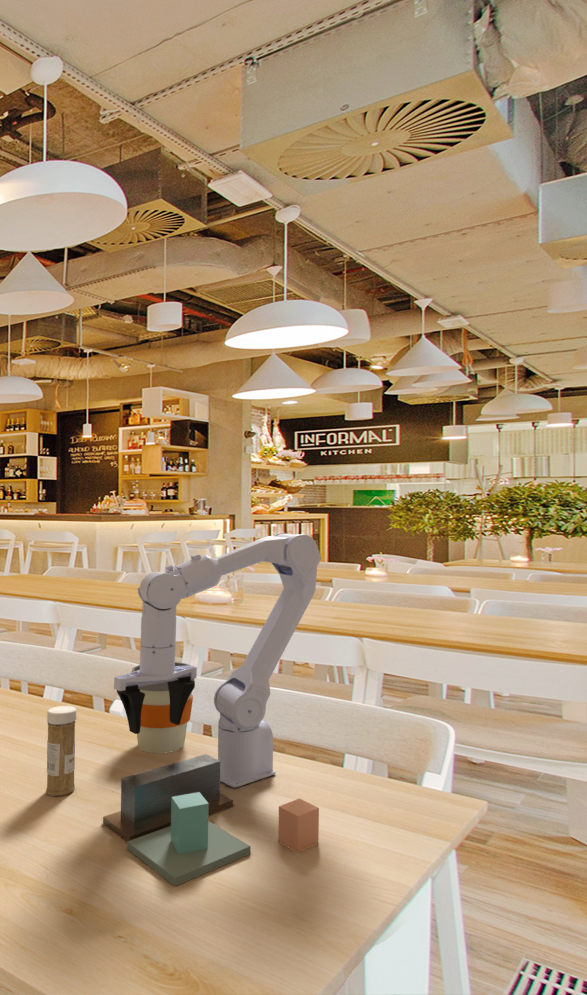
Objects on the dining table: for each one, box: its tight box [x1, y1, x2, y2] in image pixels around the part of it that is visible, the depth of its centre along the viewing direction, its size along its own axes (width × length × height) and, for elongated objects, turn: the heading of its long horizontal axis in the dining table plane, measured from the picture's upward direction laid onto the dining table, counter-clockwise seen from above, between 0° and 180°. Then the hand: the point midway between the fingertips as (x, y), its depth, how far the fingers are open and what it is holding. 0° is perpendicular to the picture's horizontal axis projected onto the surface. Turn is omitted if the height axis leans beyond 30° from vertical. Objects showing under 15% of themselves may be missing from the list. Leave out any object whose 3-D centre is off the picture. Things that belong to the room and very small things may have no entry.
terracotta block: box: [277, 798, 320, 854], centre depth 94 cm, size 4×4×5 cm
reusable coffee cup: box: [131, 661, 196, 754], centre depth 132 cm, size 13×13×15 cm
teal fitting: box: [171, 792, 209, 855], centre depth 91 cm, size 4×4×6 cm
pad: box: [126, 820, 251, 887], centre depth 91 cm, size 12×12×1 cm
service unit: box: [102, 753, 234, 843], centre depth 102 cm, size 18×8×7 cm, turn 133°
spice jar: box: [45, 705, 77, 797], centre depth 110 cm, size 5×5×14 cm
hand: (155, 727), depth 111 cm, fingers open, 7 cm apart
